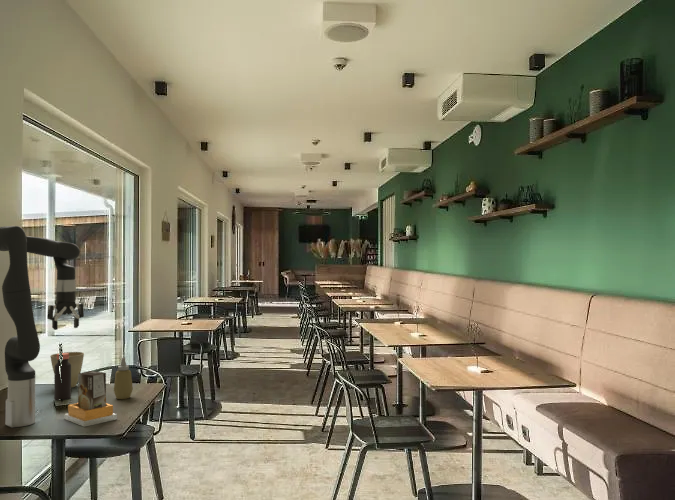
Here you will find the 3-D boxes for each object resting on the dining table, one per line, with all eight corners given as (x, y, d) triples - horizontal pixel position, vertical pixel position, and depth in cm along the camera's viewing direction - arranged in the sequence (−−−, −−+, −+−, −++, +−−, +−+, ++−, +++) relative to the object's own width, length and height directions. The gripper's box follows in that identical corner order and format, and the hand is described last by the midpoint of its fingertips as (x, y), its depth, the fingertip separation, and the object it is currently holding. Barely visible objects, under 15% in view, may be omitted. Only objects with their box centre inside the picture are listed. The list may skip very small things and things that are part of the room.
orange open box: (83, 426, 215) (83, 412, 215) (64, 419, 225) (64, 405, 225) (116, 419, 225) (116, 405, 225) (96, 412, 235) (96, 398, 235)
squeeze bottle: (109, 398, 257) (109, 358, 258) (123, 395, 264) (124, 355, 265) (122, 401, 254) (122, 360, 254) (136, 397, 261) (136, 357, 261)
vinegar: (74, 396, 261) (74, 352, 262) (65, 400, 255) (65, 355, 255) (59, 396, 262) (60, 352, 262) (51, 400, 255) (51, 355, 255)
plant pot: (74, 382, 292) (75, 350, 292) (89, 386, 283) (89, 353, 283) (44, 387, 281) (44, 354, 281) (58, 391, 271) (59, 357, 271)
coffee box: (106, 413, 226) (107, 372, 226) (93, 417, 220) (93, 375, 220) (90, 410, 230) (90, 370, 230) (76, 414, 224) (77, 373, 224)
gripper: (52, 291, 236) (52, 331, 236) (86, 290, 247) (86, 327, 247) (44, 290, 241) (44, 329, 241) (78, 289, 252) (78, 326, 252)
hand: (65, 328), depth 244 cm, fingers open, 8 cm apart
